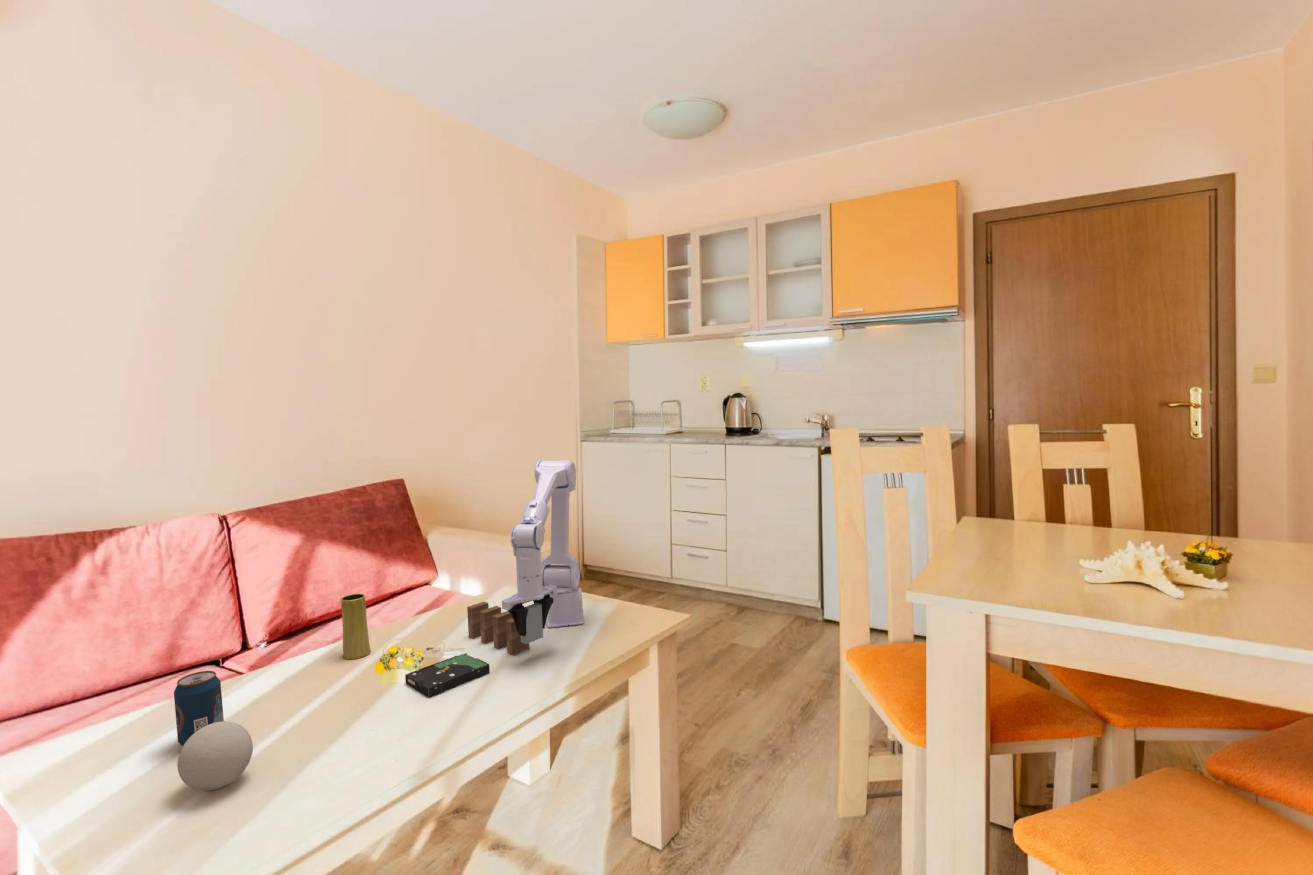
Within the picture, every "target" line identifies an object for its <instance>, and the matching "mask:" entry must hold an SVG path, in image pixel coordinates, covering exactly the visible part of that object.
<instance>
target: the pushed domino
mask: <svg viewBox="0 0 1313 875" xmlns="http://www.w3.org/2000/svg"><path fill="white" fill-rule="evenodd" d="M488 608H490V606H489V602H486V601H481V602H478V603H475V604H472V605H468V606H467V607H466V609H467V628H468V632H467V633H468V638H470V639H472V640H474V639H477V638H481V631H480V611H482V610H485V609H488Z"/></svg>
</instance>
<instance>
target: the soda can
mask: <svg viewBox="0 0 1313 875" xmlns="http://www.w3.org/2000/svg"><path fill="white" fill-rule="evenodd" d="M173 698H174V699H173V700H174V710H175V711H174V712H175V723H176V733H177V743H178V744H179V745H180V746H181V747H183V746H184V744H185V743H186V741H187V740H188V739H189V738H190V737H191V736H192V735H193V734H194V733H195V732H197V731H198V730H199V729H201V728H203V727H205V726H207V725H209V724H212V723H216V722H225V721H224V709H223V708H224V707H223V706H224V705H223V696H222V684H221V680H220V678H219V677H218V676H217V672H215V671H213V670H202V671H201V670H200V671H196V672H193V673H189V674H187V675H184V676H183V677H181V678H179V679H178V680H177V682H176V686H175V689H174V690H173Z"/></svg>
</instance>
